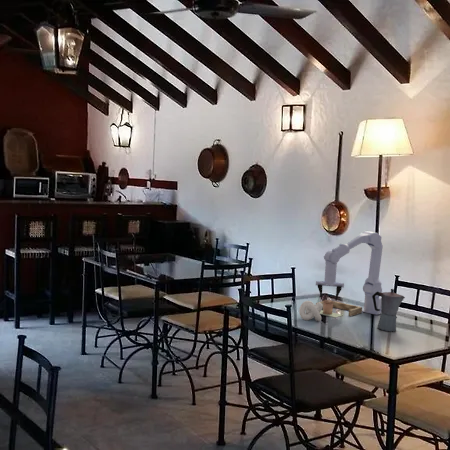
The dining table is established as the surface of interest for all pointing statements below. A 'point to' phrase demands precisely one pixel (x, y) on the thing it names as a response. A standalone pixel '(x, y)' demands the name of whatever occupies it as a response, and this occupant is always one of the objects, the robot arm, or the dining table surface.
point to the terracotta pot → (327, 306)
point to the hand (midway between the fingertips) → (328, 299)
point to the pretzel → (310, 310)
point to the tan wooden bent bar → (347, 308)
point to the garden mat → (330, 314)
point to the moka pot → (388, 309)
